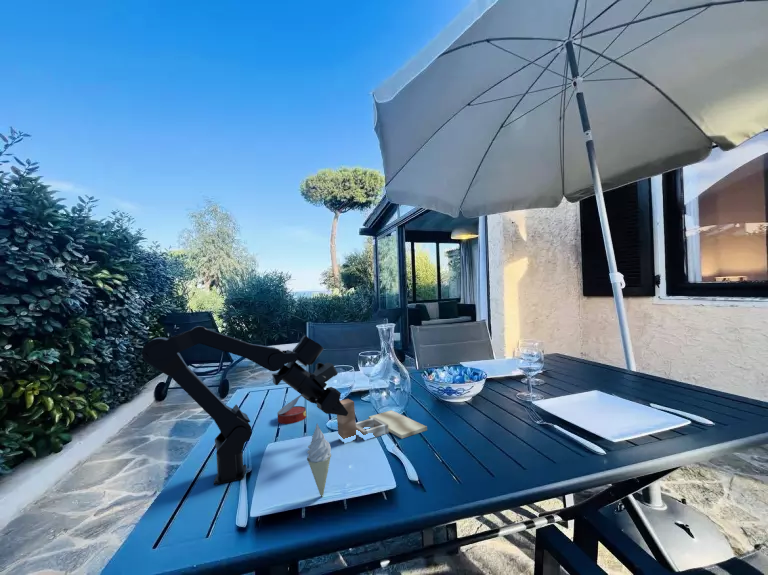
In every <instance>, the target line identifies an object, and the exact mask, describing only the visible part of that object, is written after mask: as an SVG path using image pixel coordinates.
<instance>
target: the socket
mask: <svg viewBox="0 0 768 575" xmlns="http://www.w3.org/2000/svg"><path fill="white" fill-rule="evenodd" d="M364 427H371V428H370V429H366V430H365V429H363V428H364ZM356 430H358V431H360V432H361V433H362V434H363V435H366V434H368V433H373V435H374V436H375V438H379V437H380V436H383V435H382V434H384V435H387V434H389V433H391V434H393V435H394V436H396V437H398V438H400V439H402V440H403V439H404V438H408V437H412V436H414V435H417V434H420V433H423V432H426V431H428V426H427V425H424V424H422V423H420V422H418V421H417V420H413V419H411V418H410V417H408V416H405V415H404V414H400V413H398V412H397V411H394V410H392V409H391V410H387V411H383V412H380V413H377V414H373V415H370V416H368V419H365V420H361V421H357V422H356Z"/></svg>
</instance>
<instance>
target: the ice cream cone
mask: <svg viewBox="0 0 768 575" xmlns="http://www.w3.org/2000/svg"><path fill="white" fill-rule="evenodd" d="M307 449H308V450H307V452H306V453H307V455H308V456H307V457H306V460H307V462H308V465H309V468H310V470H311V471H310V472H311V473H312V476H313V480H314V482H315V485H316V487H317V490H318V493H319V496H320V495H321V496H322V495H323V496H324V493H325V489H326V483H327V478H328V472H329V468H330V462H331V457H332V452H331V451H332V450H331V449H332V448H331V444H330V442H329V441H327V439H325V434H324V433H323V432H322V430H321V428H320V425H319V424H318V423H316V426H315V429H314V432H313V434H312V436H311V442H310V444H309V445H308V446H307ZM321 496H320V497H321Z"/></svg>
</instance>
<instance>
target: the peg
mask: <svg viewBox="0 0 768 575" xmlns="http://www.w3.org/2000/svg"><path fill="white" fill-rule="evenodd" d="M340 402H341V403H342V405H343V406H344V408H345V409H346V410H347V412H348V414H347V416H342V415H336V420H337V421H336V423H337V424H336V425H337V435H338V434H339V435H340V436H341V437H342V438H343V439H345V438H348V437H351V436H354V435H356V423H357V422H356V411H355V401H353V400H352V399H349V398H345V399H341V400H340ZM356 436H357V435H356Z"/></svg>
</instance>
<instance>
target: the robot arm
mask: <svg viewBox="0 0 768 575" xmlns="http://www.w3.org/2000/svg"><path fill="white" fill-rule="evenodd" d="M199 344H200V345H203V346H208V347H210V348H213V349H216V350H220V351H223V352H226V353H228V354H232V355H235V356H238V357H241V358H244V359H247V360H249V361H251V362H253V363H254V364H257V365H259V366H260V367H262V368H264V369H266V370H268V371H269V372H274V373H271V376H272V383H273V384H274V385H276V386H278V385H279V384H280V383H281V382H282V381H283V383H284V384H286V385H288V386H289V387H291V388H292V389H293V390H294V391H296V392H297V393H299V395H301V398H304V399H305V400H307V401H308V402H309V403H312V404H315V405H316V407H317V408H318V409H319V410H321V412H323V413H324V414H326V415H327V414H329V415H336V416H337V415H342V416H347V414H348V412H347V410H346V409H345V408H344V406H343V405H342V403H341V402H340V401H341V400H340V399H341V395H342V393H341V391H339V390H338V389H337V388H334V387H333V386H329V387H326V386H327V385H328V383H327V382H328V381H330V380H331V379H333V378H334V377H336V376H337V375H338V371H337V369H336V367H335V366H334V364H333V363H331V362H325V363H323V362H320V361H319V362H318V363H316V364H315V370H314V372H310V371H308V370H306V369H305V368H303V367H302V366H304V367H307V366H312V365H313V364H314V363H315V361H317V359H318V357H319V356H320V355H321V353H322V352H323V351H324V349H325V348H324V346H322V345H321V344H320V343H318V342H317V341H314V340H313V339H312V338H309V337H308V336H307V335H302V337H301V338H300V340H299V342H298V343H297V344H296V345H295V346H294V348H293V349H292V350H289V349H287V350H281V349H280V348H276V347H274V346H267V345H261V344H255V343H254V344H253V343H249V342H246V341H243V340H241V339H237V338H235V337H232V336H229V335H225V334H224V333H223V334H222V333H219V332H217V331H214V330H212V329H211V330H210V329H208V328H206V327H205V326H201V325H198V326H194V327H192V329H189V330H187V331H186V330H185V331H183V332H181V333H178V334H175V335H172V336H170V337H160V336H159V337H155V338H153V339H151V340H149V341H148V342H147V343H145V345H143V348H142V350H141V357H142V359H143V361H144V362H145V363H146V364H148V365H150V366H151V367H153V368H154V369H156V370H157V371H159V372H161V373H162V374H164V375H166V376H168V377H169V378H171V379H172V380H173V381H174V382H175V383H176V384H177V385H178V386H179V387H180V388H182V390H184V392H186V393H187V395H188V396H189V397H190V398H191V399H193V401H194V402H195V403H196V404H198V406H199V407H200V408H202V409H203V411H204V412H205V413H206V414H208V416H209V417H211V418H212V420H213V421H214V423H215V424H216V426H217V428H218V429H219V431H220V432H219V433H218V434H217V436H216V437H215V438H214V445H215V448H216V453H215V454H216V472H217V474H216V476H215V478H214V481H213V485H215V486H216V485H219V484H220V485H221V484H225V483H230V482H234V481H238V480H239V481H241V480H243V479H244V478H245V474H246V471H247V467H248V466H247V464H244V454H243V452H244V447H245V444H246V442H247V441H248V440H249V439H250V438H251V435H252V427H251V424H250V423H251V420H250V418H249V415H248V414H247V413H245V412H243V411H242V410H241V409H240V407H239V405H238V404H234V406H233V407H230V406H228V405H227V404H225V403H224V402H223V400H221V398H220V397H218V395H217V394H216V393H215V392H214V391H213V390H211V388H210V387H209V386H208V385H207V384H206V383H205V382H204V381H203V380H202V379H201V378H200V377H199V376H198V375H197V374H196V373H195V372H194V371H193V370H192V369H191V367H190V366H188V365H187V363H186V362H185V360H184V358H183V356H182V355H181V352H182V351H185V350H187V349H189V348H191V347H193V346H196V345H199ZM298 362H299V363H300V364H301V365H302V366H301V365H300V364H299V363H298Z"/></svg>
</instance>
